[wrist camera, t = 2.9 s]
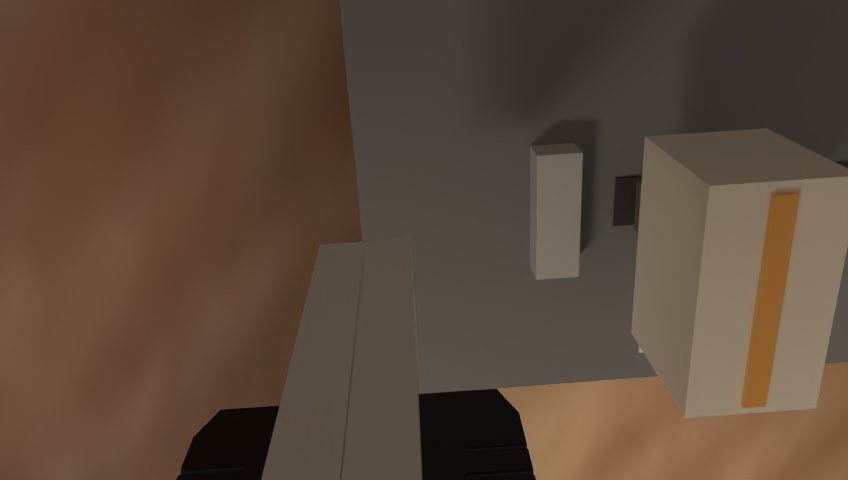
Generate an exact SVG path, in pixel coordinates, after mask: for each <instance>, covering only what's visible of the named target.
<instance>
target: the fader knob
mask: <svg viewBox="0 0 848 480" xmlns="http://www.w3.org/2000/svg"><path fill="white" fill-rule="evenodd" d="M634 230H635V231H636V232H637V234H638V242H637V257H636V271H635V286H634V300H633V315H632V329H631V333H632V335H633V337H634V338H635V340H636V341H637V343H638V345H639V346H640V348H641V349H642V351H643V353H644V354H645V356H646V357H647V359H648V361H649V362H650V364H651V366H652V367H653V369H654V370H655V372H656V374H657V375H658V377H659V378H660V380H661V382H662V383H663V385H664V386H665V388H666V390H667V391H668V393H669V394H670V396H671V398H672V399H673V401H674V402H675V404H676V406H677V407H678V409H679V410H680V412H681V414H682V415H683V417H684V418H695V417H708V416H721V415H734V414H747V413H760V412H772V411H785V410H798V409H811V408H816V405H817V400H818V395H819V390H820V385H821V380H822V375H823V369H824V364H825V359H826V354H827V349H828V344H829V339H830V334H831V329H832V323H833V318H834V313H835V308H836V303H837V298H838V293H839V288H840V283H841V277H842V272H843V267H844V262H845V257H846V252H847V247H848V168H846V167H844V166H841V165H839V164H837V163H835V162H833V161H831V160H829V159H827V158H825V157H823V156H821V155H819V154H817V153H815V152H813V151H811V150H809V149H807V148H805V147H803V146H801V145H799V144H797V143H795V142H793V141H791V140H789V139H787V138H785V137H783V136H781V135H779V134H777V133H775V132H773V131H771V130H769V129H767V128H763V129H748V130H733V131H719V132H704V133H689V134H674V135H659V136H645V140H644V155H643V169H642V180H637V183H636V199H635V214H634Z"/></svg>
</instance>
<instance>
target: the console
mask: <svg viewBox="0 0 848 480" xmlns="http://www.w3.org/2000/svg"><path fill="white" fill-rule="evenodd" d="M339 7H340V17H341V28H342V38H343V48H344V58H345V69H346V79H347V89H348V100H349V110H350V120H351V131H352V141H353V151H354V161H355V172H356V182H357V192H358V203H359V213H360V223H361V234H362V242H366V241H381V240H397V239H411V251H412V266H413V280H414V295H415V310H416V325H417V339H418V354H419V369H420V385H421V394H425V393H439V392H452V391H466V390H479V389H492V388H505V387H519V386H532V385H545V384H558V383H572V382H585V381H598V380H611V379H624V378H638V377H651V376H658V375H657V374H656V372H655V370H654V369H653V367H652V366H651V364H650V362H649V361H648V359H647V357H646V356H645V354H644V353H643V351H642V349H641V348H640V346H639V345H638V343H637V341H636V340H635V338H634V337H633V335H632V333H631V329H632V315H633V300H634V286H635V271H636V257H637V242H638V234H637V232H636V231H635V230H634V214H635V199H636V183H637V180H642V169H643V155H644V140H645V136H659V135H674V134H689V133H704V132H719V131H733V130H748V129H763V128H767V129H769V130H771V131H773V132H775V133H777V134H779V135H781V136H783V137H785V138H787V139H789V140H791V141H793V142H795V143H797V144H799V145H801V146H803V147H805V148H807V149H809V150H811V151H813V152H815V153H817V154H819V155H821V156H823V157H825V158H827V159H829V160H831V161H833V162H835V163H837V164H839V165H841V166H844V167H846V168H848V0H339ZM836 362H848V247H847V252H846V257H845V262H844V267H843V272H842V277H841V283H840V288H839V293H838V298H837V303H836V308H835V313H834V318H833V323H832V329H831V334H830V339H829V344H828V349H827V354H826V359H825V363H836Z"/></svg>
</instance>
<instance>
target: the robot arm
mask: <svg viewBox="0 0 848 480" xmlns="http://www.w3.org/2000/svg"><path fill="white" fill-rule="evenodd" d="M176 480H536V478H535V475H534V474H533V467H532V463H531V459H530V455H529V451H528V449H527V443H526V439H525V435H524V431H523V427H522V423H521V419H520V415H519V413H518V411H517V410H516V409H515V408H514V407H513V406H512V405H511V404H510V403H509V402H508V401H507V400H506V399H505V398H504V396H503V395H502V394H501V393H500V392H499V391H498V390H497V389H486V390H471V391H455V392H440V393H425V394H421V385H420V369H419V354H418V339H417V325H416V310H415V295H414V280H413V266H412V251H411V239H397V240H381V241H366V242H350V243H335V244H320V245H319V249H318V253H317V257H316V261H315V266H314V270H313V274H312V278H311V282H310V286H309V290H308V294H307V298H306V302H305V306H304V310H303V314H302V318H301V322H300V326H299V330H298V334H297V338H296V342H295V346H294V350H293V354H292V358H291V362H290V366H289V370H288V374H287V378H286V382H285V386H284V390H283V394H282V398H281V402H280V406H270V407H255V408H240V409H225V410H220V411H219V412H218V413H217V414H216V415H215V416H214V417H213V418H212V419H211V420H210V421H209V422H208V423H207V424H206V425H205V426H204V427H203V428H202V429H201V430H200V431H199V432H198V433H197V434H196V435H195V436H194V437H193V440H192V442H191V445H190V447H189V450H188V452H187V455H186V457H185V460H184V462H183V465H182V467H181V475H178V477H177V479H176Z"/></svg>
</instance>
